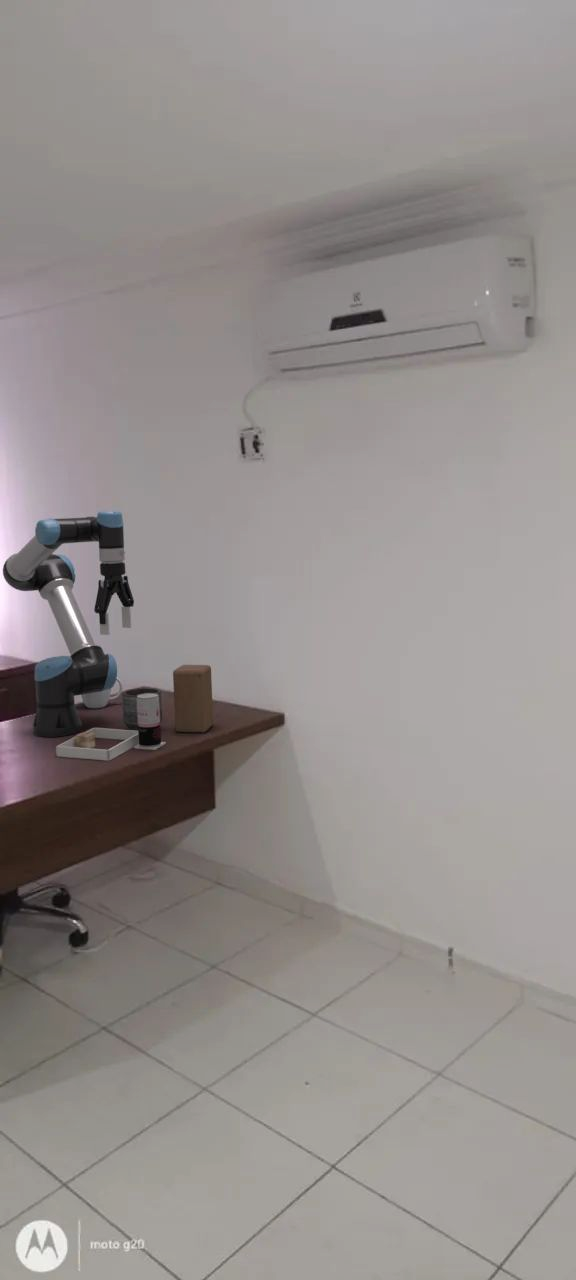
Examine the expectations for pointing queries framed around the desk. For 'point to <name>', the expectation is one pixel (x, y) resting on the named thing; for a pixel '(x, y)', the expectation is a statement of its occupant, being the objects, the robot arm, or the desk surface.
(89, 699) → the mug
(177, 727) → the wooden block
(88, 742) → the beech block
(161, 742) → the pad
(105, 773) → the desk surface
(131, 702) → the planter
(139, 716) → the beverage can
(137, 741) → the bin
